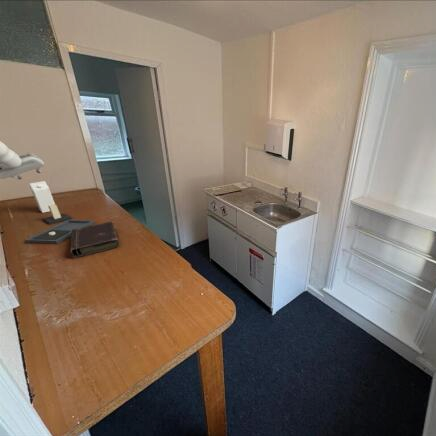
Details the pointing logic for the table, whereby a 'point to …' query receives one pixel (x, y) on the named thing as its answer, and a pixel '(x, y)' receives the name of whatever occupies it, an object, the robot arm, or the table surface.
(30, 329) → the table surface
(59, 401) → the table surface
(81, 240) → the diary
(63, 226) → the grey shallow rectangular tray
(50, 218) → the loose pad
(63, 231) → the pad
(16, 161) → the robot arm
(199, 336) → the table surface
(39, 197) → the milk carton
